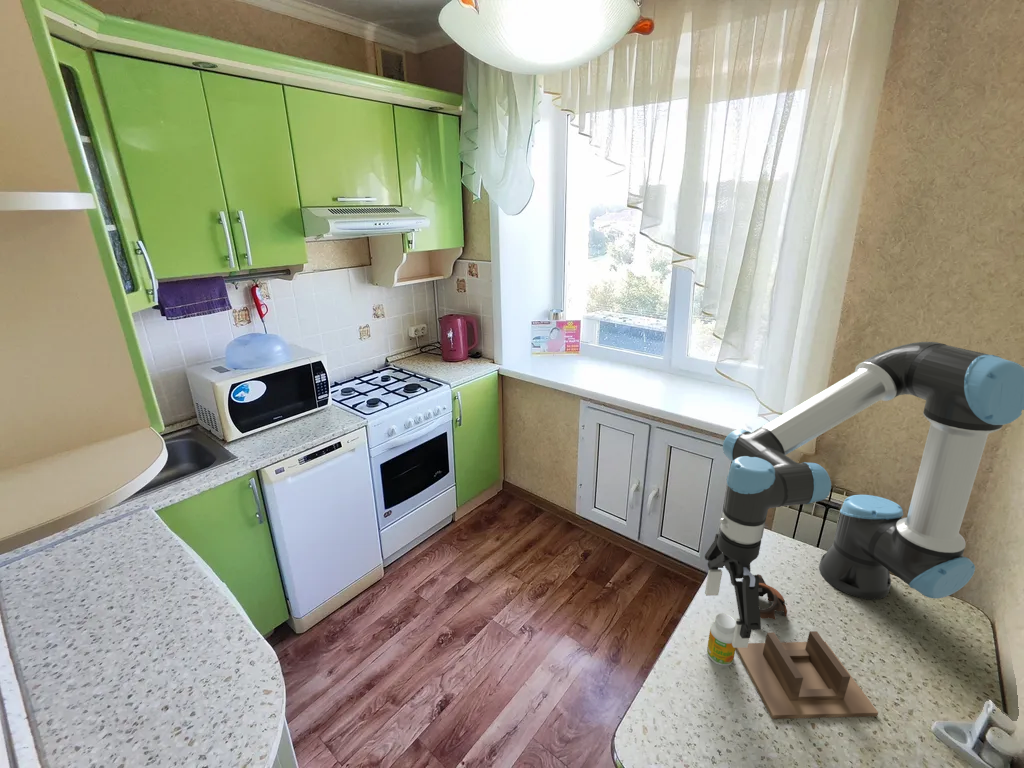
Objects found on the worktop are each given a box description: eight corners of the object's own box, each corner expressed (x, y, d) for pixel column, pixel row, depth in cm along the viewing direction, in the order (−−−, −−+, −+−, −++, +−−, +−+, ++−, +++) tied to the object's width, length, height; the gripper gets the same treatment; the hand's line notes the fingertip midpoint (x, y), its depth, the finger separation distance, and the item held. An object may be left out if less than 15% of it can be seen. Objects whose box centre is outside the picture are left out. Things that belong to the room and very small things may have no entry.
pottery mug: (796, 628, 111) (789, 610, 107) (754, 636, 114) (745, 619, 110) (776, 581, 121) (768, 563, 117) (737, 590, 124) (729, 572, 120)
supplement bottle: (708, 663, 102) (714, 628, 99) (705, 643, 107) (710, 608, 104) (735, 668, 101) (742, 633, 98) (730, 647, 106) (737, 612, 102)
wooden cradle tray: (824, 644, 106) (830, 620, 103) (877, 716, 91) (886, 689, 88) (734, 647, 106) (738, 622, 103) (772, 719, 91) (778, 692, 88)
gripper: (697, 498, 105) (685, 576, 112) (752, 579, 81) (733, 672, 89) (731, 497, 105) (717, 576, 112) (795, 579, 82) (773, 671, 89)
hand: (724, 618), depth 100 cm, fingers open, 13 cm apart
